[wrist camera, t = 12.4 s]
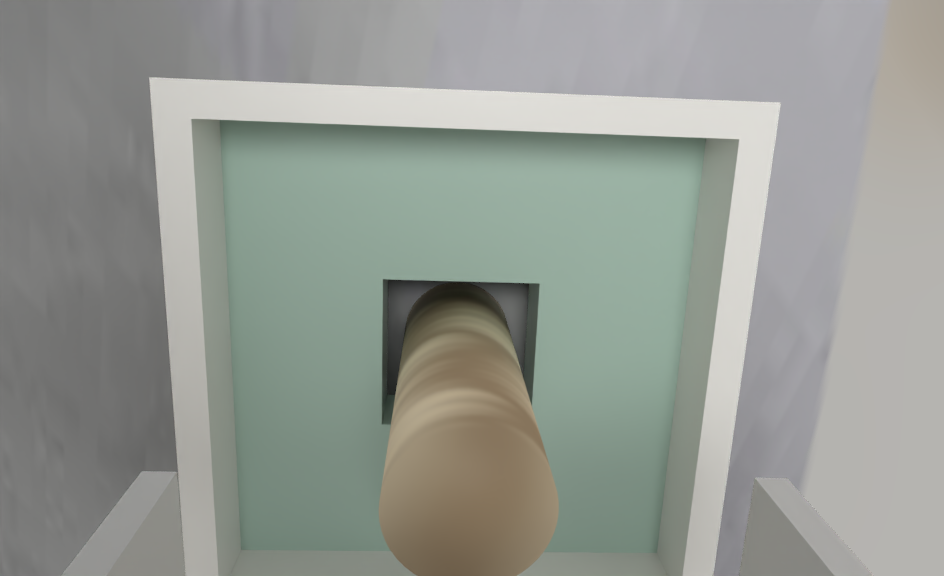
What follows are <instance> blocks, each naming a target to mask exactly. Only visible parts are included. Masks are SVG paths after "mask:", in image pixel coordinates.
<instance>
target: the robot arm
mask: <svg viewBox="0 0 944 576" xmlns="http://www.w3.org/2000/svg"><path fill="white" fill-rule="evenodd" d="M61 576H185V565H184V552H183V540H182V527H181V515H180V503H179V490H178V478H177V472H163V471H142V472H141V473H140V474H139V475H138V477H137V478H136V479H135V481H134V482H133V483H132V484H131V486H130V487H129V488H128V490H127V491H126V492H125V494H124V495H123V496H122V497H121V499H120V500H119V501H118V503H117V504H116V505H115V506H114V508H113V509H112V510H111V512H110V513H109V514H108V516H107V517H106V518H105V519H104V521H103V522H102V523H101V525H100V526H99V527H98V529H97V530H96V531H95V532H94V534H93V535H92V536H91V538H90V539H89V540H88V541H87V543H86V544H85V545H84V547H83V548H82V549H81V551H80V552H79V553H78V554H77V556H76V557H75V558H74V560H73V561H72V562H71V563H70V565H69V566H68V567H67V569H66V570H65V571H64V573H63V574H62V575H61ZM739 576H874V575H873V574H872V573H871V572H870V570H869V569H868V568H867V567H866V566H865V565H864V564H863V563H862V562H861V560H860V559H859V558H858V557H857V556H856V555H855V554H854V553H853V552H852V550H850V548H849V547H848V546H847V545H846V544H845V543H844V541H843V540H842V539H841V538H840V537H839V536H838V535H837V534H836V532H835V531H834V530H833V529H832V528H831V527H830V526H829V525H828V524H827V522H826V521H825V520H824V519H823V518H822V517H821V516H820V515H819V514H818V512H817V511H816V510H815V509H814V508H813V507H812V506H811V504H810V503H809V502H808V501H807V500H806V499H805V498H804V497H803V496H802V494H801V493H800V492H799V491H798V490H797V489H796V488H795V487H794V485H793V484H792V483H791V482H790V481H789V480H788V479H787V478H755V480H754V486H753V492H752V499H751V505H750V511H749V517H748V523H747V529H746V536H745V542H744V548H743V554H742V560H741V566H740V573H739Z"/></svg>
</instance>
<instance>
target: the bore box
mask: <svg viewBox="0 0 944 576" xmlns="http://www.w3.org/2000/svg"><path fill="white" fill-rule="evenodd" d="M149 81H150V95H151V109H152V122H153V136H154V150H155V163H156V177H157V191H158V205H159V218H160V232H161V246H162V259H163V273H164V287H165V300H166V314H167V328H168V341H169V355H170V369H171V382H172V396H173V410H174V423H175V437H176V451H177V464H178V478H179V492H180V505H181V519H182V533H183V546H184V560H185V574H186V576H417V575H415V574H413V573H412V572H411V571H409V570H408V569H407V568H406V567H404V566H403V565H402V564H401V563H400V562H399V561H398V560H397V558H396V557H395V556H394V555H393V553H392V552H391V551H390V549H389V547H388V545H387V543H386V542H385V539H384V536H383V534H382V531H381V526H380V522H379V500H380V493H381V487H382V480H383V473H384V467H385V460H386V454H387V447H388V440H389V434H390V427H391V421H392V414H393V407H394V401H395V395H387V351H388V280H426V281H463V282H501V283H529V296H528V312H527V329H526V345H525V362H524V382H525V385H526V388H527V392H528V395H529V399H530V402H531V405H532V409H533V412H534V415H535V419H536V422H537V425H538V429H539V432H540V435H541V439H542V442H543V445H544V449H545V452H546V455H547V459H548V462H549V466H550V469H551V472H552V476H553V479H554V482H555V486H556V489H557V493H558V500H559V514H558V521H557V525H556V528H555V532H554V534H553V536H552V539H551V541H550V543H549V544H548V546H547V548H546V549H545V551H544V552H543V553H542V554H541V556H540V557H539V558H538V559H537V560H536V561H535V562H534V563H533V564H532V565H531V566H530V567H529V568H527V569H526V570H524V571H523V572H522V573H520V574H519V575H517V576H713V573H714V566H715V559H716V552H717V545H718V538H719V531H720V524H721V517H722V510H723V503H724V496H725V489H726V482H727V475H728V468H729V461H730V454H731V447H732V440H733V433H734V426H735V419H736V412H737V405H738V398H739V391H740V384H741V377H742V370H743V363H744V356H745V349H746V342H747V335H748V328H749V321H750V314H751V307H752V300H753V293H754V286H755V279H756V272H757V265H758V258H759V251H760V244H761V237H762V230H763V223H764V216H765V209H766V202H767V195H768V188H769V181H770V174H771V167H772V160H773V153H774V146H775V139H776V132H777V125H778V118H779V111H780V104H781V103H774V102H749V101H724V100H699V99H674V98H649V97H624V96H600V95H575V94H550V93H525V92H500V91H475V90H450V89H426V88H401V87H376V86H351V85H326V84H301V83H276V82H252V81H227V80H202V79H177V78H152V77H149Z"/></svg>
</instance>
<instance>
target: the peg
mask: <svg viewBox="0 0 944 576" xmlns="http://www.w3.org/2000/svg"><path fill="white" fill-rule="evenodd" d="M558 514H559V500H558V493H557V489H556V486H555V482H554V479H553V476H552V472H551V469H550V466H549V462H548V459H547V455H546V452H545V449H544V445H543V442H542V439H541V435H540V432H539V429H538V425H537V422H536V419H535V415H534V412H533V409H532V405H531V402H530V399H529V395H528V392H527V388H526V385H525V382H524V378H523V375H522V372H521V368H520V365H519V362H518V358H517V355H516V352H515V348H514V345H513V342H512V338H511V335H510V332H509V328H508V325H507V321H506V318H505V315H504V312H503V310H502V308H501V306H500V305H499V303H498V302H497V301H496V300H495V298H494V297H493V296H491V295H490V294H489V293H488V292H486V291H485V290H483V289H481V288H479V287H477V286H475V285H472V284H467V283H460V282H454V283H446V284H442V285H439V286H436V287H434V288H432V289H430V290H429V291H427V292H426V293H424V294H423V295H422V296H421V297H420V298H419V299H418V300H417V301H416V303H415V304H414V305H413V307H412V309H411V311H410V313H409V315H408V318H407V323H406V328H405V335H404V342H403V348H402V355H401V361H400V368H399V374H398V381H397V388H396V394H395V401H394V407H393V414H392V421H391V427H390V434H389V440H388V447H387V454H386V460H385V467H384V473H383V480H382V487H381V493H380V500H379V522H380V526H381V531H382V534H383V536H384V539H385V542H386V543H387V545H388V547H389V549H390V551H391V552H392V553H393V555H394V556H395V557H396V558H397V560H398V561H399V562H400V563H401V564H402V565H403V566H404V567H406V568H407V569H408V570H409V571H411V572H412V573H413V574H415V575H417V576H517V575H519V574H520V573H522V572H523V571H524V570H526V569H527V568H529V567H530V566H531V565H532V564H533V563H534V562H535V561H536V560H537V559H538V558H539V557H540V556H541V554H542V553H543V552H544V551H545V549H546V548H547V546H548V544H549V543H550V541H551V539H552V536H553V534H554V532H555V528H556V525H557V521H558Z"/></svg>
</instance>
